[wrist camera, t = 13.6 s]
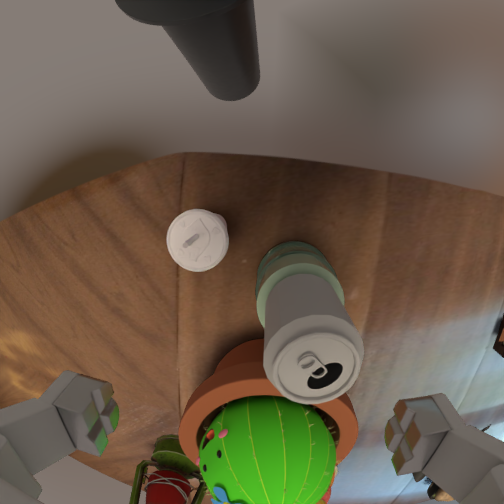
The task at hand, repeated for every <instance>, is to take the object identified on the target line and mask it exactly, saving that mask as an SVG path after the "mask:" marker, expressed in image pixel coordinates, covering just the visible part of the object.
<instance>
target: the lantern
mask: <svg viewBox="0 0 504 504" xmlns="http://www.w3.org/2000/svg"><path fill="white" fill-rule="evenodd" d="M151 460H152V461H148V460H143V461H142V462H141V463H140V464H139V465H138V466H137V468H136V473H135V478H134V482H133V487H132V492H131V497H130V503H129V504H138V503H139V498H140V492H141V487H142V483H143V484H145V479H146V478H147V479H148V484H147V485H146V486H145V488H144V490H145V491H146V504H187V501H188V499H187V498H188V496H189V494H190V492H192V491H193V490H194V489H195V490H197V492H196V494H195V496H194V498H193V501H192V503H191V504H201V502H202V500H203V497H204V495H205V493H206V490H207V488H208V487H207V485H206V482H205V481H204V479H203V476H202V475H201V474H200V473H201V470H200V468H199V467H198V466H197V465H195V464H194V463H193V462H192V461H191V460H190V459H189V458H188V457H187V456H186V454H185V453H184V451H183V450H182V448H181V445H180V442H179V436H178V435H172V434H171V435H163V436H161V437H159V438H158V439H157V441H156V443H155V450H154V452H153V455H152V457H151ZM147 466H155V467H156V468H157V469H158V470H160V471H155V472H153V473H148V474H147V469H148V468H147ZM144 473H145V474H144ZM150 474H151V475H150ZM146 475H150V477H149V478H148V477H147V476H146ZM143 476H145V477H144V478H143ZM192 478H197V479H199V482H200V481H201V482H200V485H199V487H198V488H194V487H192V486H191V485H190V483H189V482H188V481H187V480H186V479H192ZM203 481H204V482H203ZM191 487H192V488H193V489H192V490H191ZM146 488H147V490H146Z"/></svg>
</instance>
